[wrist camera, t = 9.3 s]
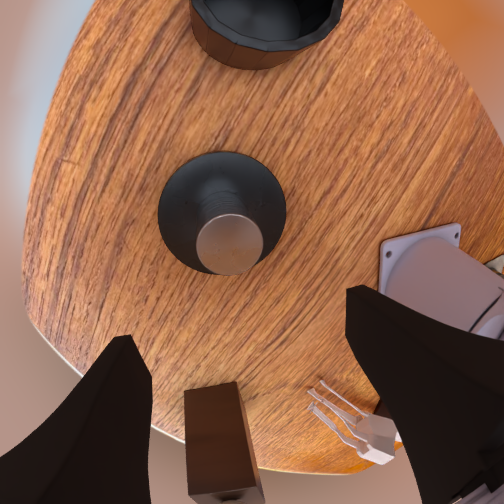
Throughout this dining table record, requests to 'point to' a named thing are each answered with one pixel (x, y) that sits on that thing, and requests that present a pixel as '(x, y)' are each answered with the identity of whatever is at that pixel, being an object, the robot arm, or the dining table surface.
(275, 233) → the lid
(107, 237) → the dining table surface
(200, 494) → the stand
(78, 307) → the dining table surface
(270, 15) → the cup
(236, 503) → the beige sphere
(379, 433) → the white flat pronged piece
